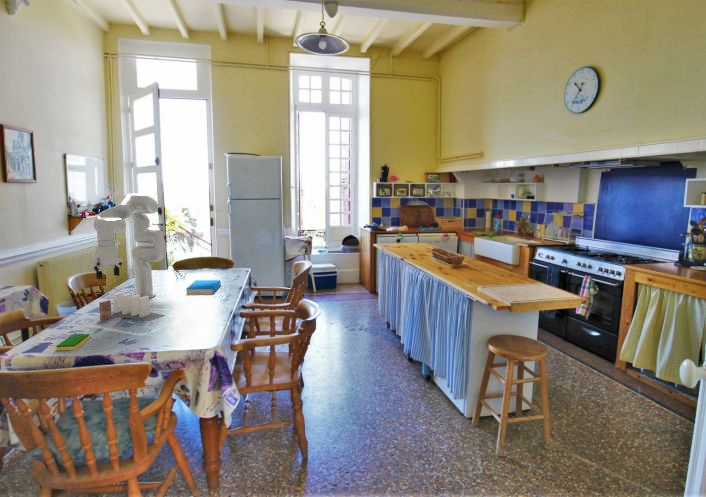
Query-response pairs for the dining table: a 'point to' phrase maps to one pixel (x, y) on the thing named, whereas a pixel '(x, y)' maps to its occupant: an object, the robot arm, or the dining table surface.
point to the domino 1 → (105, 309)
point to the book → (203, 287)
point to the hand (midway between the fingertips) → (108, 277)
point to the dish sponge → (73, 342)
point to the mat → (146, 318)
